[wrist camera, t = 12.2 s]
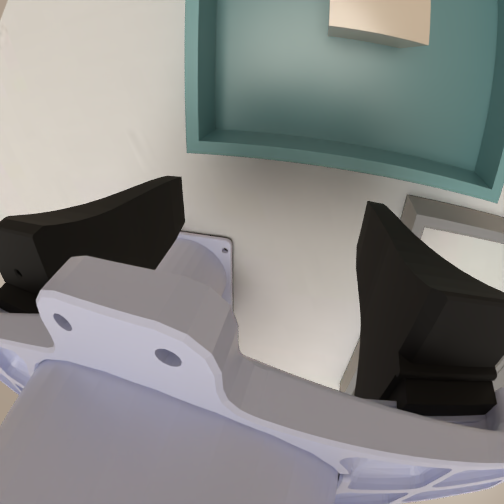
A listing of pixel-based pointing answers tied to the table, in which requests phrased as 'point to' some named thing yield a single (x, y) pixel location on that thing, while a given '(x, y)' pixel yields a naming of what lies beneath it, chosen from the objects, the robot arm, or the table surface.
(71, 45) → the table surface
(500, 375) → the grey bin lid
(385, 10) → the brown block
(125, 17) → the table surface
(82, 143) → the table surface
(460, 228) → the grey bin
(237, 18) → the teal bin
